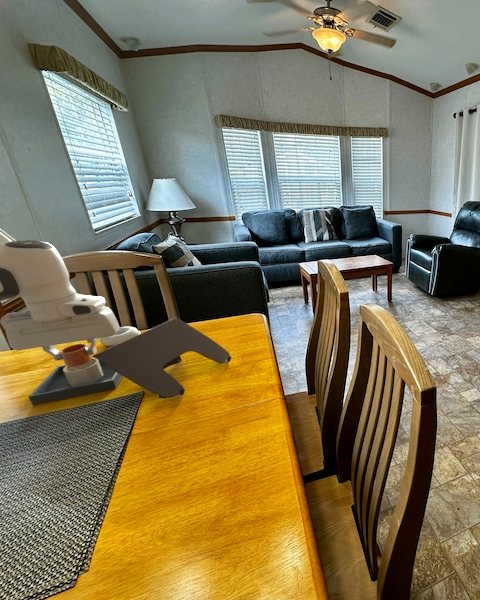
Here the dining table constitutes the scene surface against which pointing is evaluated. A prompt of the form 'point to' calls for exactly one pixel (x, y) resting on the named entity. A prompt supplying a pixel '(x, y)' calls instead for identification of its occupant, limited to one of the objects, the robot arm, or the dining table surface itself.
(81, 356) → the terracotta bowl
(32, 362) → the dining table surface
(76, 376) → the cream bowl
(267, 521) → the dining table surface
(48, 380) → the tray
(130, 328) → the donut
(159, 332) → the laptop tray
